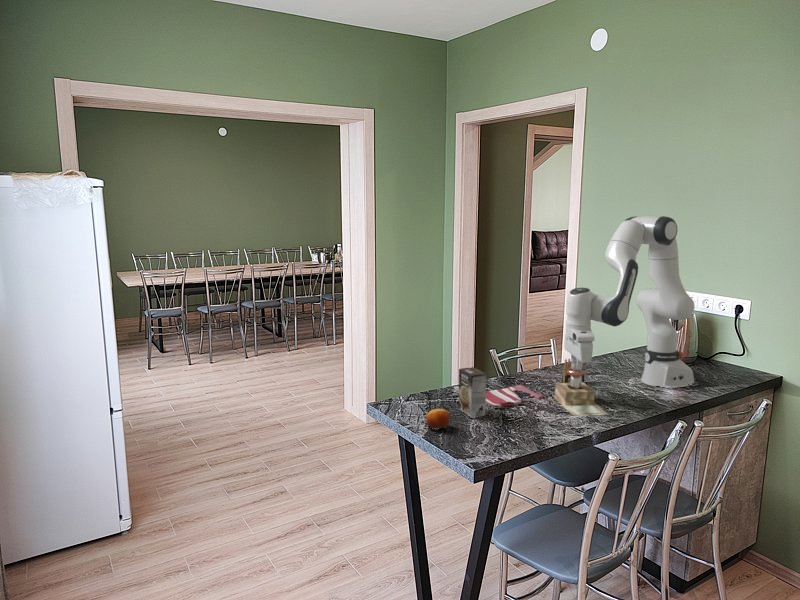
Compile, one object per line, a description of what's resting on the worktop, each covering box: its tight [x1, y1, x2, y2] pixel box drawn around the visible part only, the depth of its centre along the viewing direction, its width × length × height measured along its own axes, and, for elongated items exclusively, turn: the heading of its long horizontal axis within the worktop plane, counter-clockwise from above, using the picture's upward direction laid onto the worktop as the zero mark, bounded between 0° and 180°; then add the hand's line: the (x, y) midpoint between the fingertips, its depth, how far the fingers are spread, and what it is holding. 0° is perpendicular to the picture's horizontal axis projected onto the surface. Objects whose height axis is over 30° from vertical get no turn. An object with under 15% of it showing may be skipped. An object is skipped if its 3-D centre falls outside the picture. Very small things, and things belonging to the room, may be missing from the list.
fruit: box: [425, 408, 451, 429], centre depth 202 cm, size 8×8×8 cm
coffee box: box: [458, 367, 487, 417], centre depth 214 cm, size 9×6×16 cm
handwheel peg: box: [567, 361, 587, 390], centre depth 225 cm, size 7×7×12 cm
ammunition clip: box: [561, 357, 585, 383], centre depth 246 cm, size 11×2×12 cm, turn 117°
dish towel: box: [486, 384, 545, 409], centre depth 231 cm, size 17×23×3 cm
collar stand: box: [552, 381, 609, 417], centre depth 221 cm, size 13×22×6 cm, turn 5°
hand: (576, 367), depth 224 cm, fingers closed on handwheel peg, 3 cm apart
